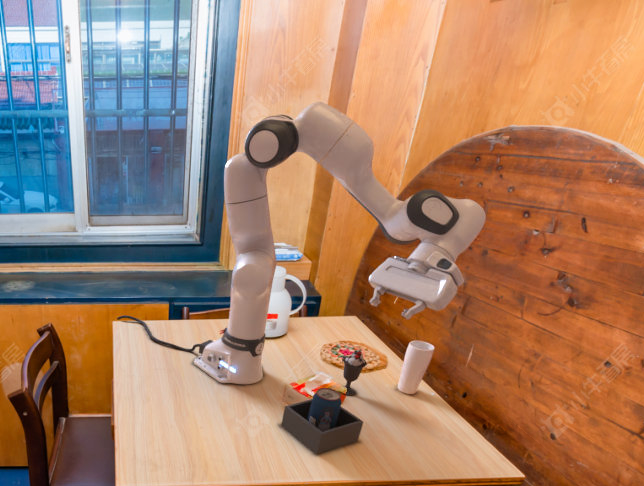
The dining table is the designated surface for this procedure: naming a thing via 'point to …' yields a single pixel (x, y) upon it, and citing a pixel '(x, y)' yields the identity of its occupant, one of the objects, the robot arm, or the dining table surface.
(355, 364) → the sundae
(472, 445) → the dining table surface
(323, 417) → the soda can
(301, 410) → the tub
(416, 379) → the white tall cylinder
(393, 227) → the robot arm
